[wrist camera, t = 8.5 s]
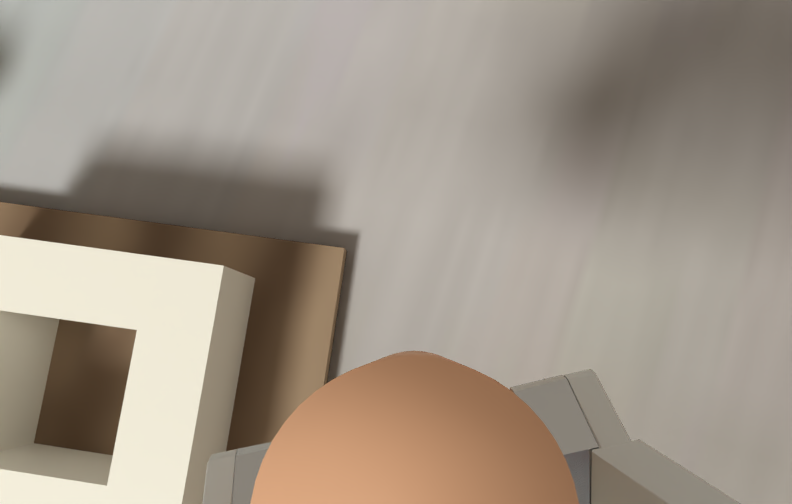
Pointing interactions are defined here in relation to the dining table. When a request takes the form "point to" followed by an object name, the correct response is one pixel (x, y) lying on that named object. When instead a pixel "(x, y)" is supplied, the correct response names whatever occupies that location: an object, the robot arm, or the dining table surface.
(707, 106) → the dining table surface
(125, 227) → the base board
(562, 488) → the peg
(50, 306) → the socket block
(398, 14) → the dining table surface
